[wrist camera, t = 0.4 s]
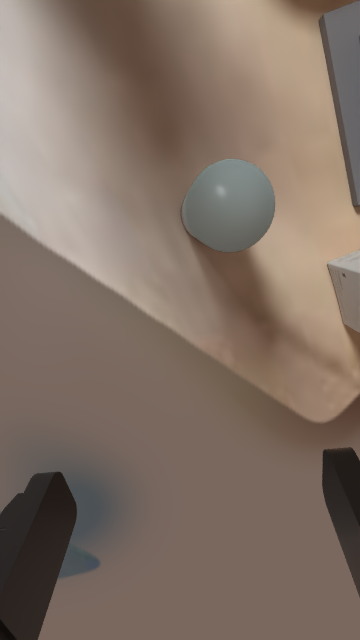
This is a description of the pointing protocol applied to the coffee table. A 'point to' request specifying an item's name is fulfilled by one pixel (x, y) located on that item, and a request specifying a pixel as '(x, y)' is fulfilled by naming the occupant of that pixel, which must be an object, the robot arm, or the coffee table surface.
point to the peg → (229, 206)
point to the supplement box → (347, 287)
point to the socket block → (345, 83)
